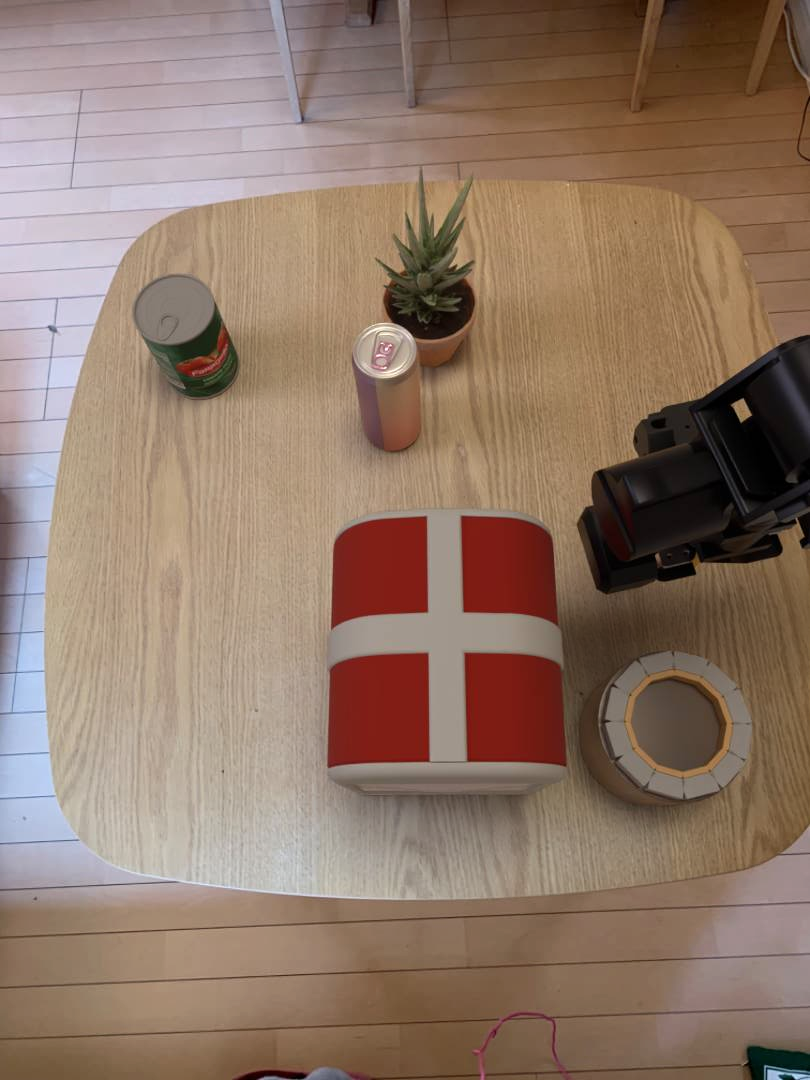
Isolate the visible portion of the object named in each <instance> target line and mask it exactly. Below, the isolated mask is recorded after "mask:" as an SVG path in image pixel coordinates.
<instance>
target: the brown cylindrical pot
mask: <svg viewBox="0 0 810 1080" xmlns="http://www.w3.org/2000/svg"><path fill="white" fill-rule="evenodd" d="M665 651H666V650H659V651H658V650H657V651H652V652H647V653H645V654H641V655H638V656H636V657H634V658H632V659H630V660H629V661H627V662H626V663H624V664H623V665H622V666H621V667H619V669H617V670H616V671H615V672H614V673H613V674H612V675H610V676H609V677H608V678H607V679H605V680H604V681H603V682H602V683H601V684H600V685H599V686H598V687H597V688H596V689H595V690H594V691H593V692H592V693H591V694H590V696H589V697H588V699H587V701H586V702H585V704H584V707H583V708H582V711H581V715H580V719H579V724H578V742H579V746H580V747H579V748H580V752H581V755H582V757H583V760H584V763H585V765H586V766H587V769H588V770H589V772H590V773H591V775H592V776H593V777H594V779H595V780H596V781H597V782H598V784H600V785H601V787H603V788H604V789H605V790H606V791H607V792H609V793H610V794H611V795H613V796H614V797H616V798H618V799H619V800H622V801H625V802H627V803H630V804H633V805H636V806H637V805H638V806H642V807H661V806H662V807H663V806H671V805H681V804H690V803H697V802H701V801H703V800H706V799H709V798H712V797H713V796H716V795H717V794H719V793H721V791H723V790H725V789H726V788H727V787H728V786H729V785H730V784H731V783H732V782H733V781H734V780H735V778H736V777H737V776H738V775H739V773H740V771H739V772H738V773H737V774H736V775H735V776H734V777H733V779H732V780H731V781H730V782H729V783H728V784H727V785H726V786H725V787H724V788H722V789H720V791H717V792H713V793H709V794H705V795H701V796H698V797H694V798H690V799H685V800H681V799H678V800H676V799H673V798H670V797H666V796H663V795H659V794H656V793H653V792H649V791H646V790H644V787H639V786H638V785H637V784H636V783H635V782H634V781H633V780H632V779H631V778H630V777H629V776H627V775H626V774H625V773H624V772H623V771H622V770H621V769H620V768H619V767H618V766H617V765H616V764H615V760H616V759H617V758H618V757H617V758H613V759H612V758H611V755H610V751H609V748H608V745H607V742H606V739H605V735H604V732H603V729H602V725H603V724H604V723H605V722H602V721H601V720H602V715H603V710H604V706H605V701H606V697H607V692H608V689H609V688H611V687H610V685H611V684H612V683H613V682H614V681H615V680H616V679H617V678H618V677H619V676H620V675H621V674H622V673H623V672H624V671H625V670H626V669H627V668H628V667H629V666H630V665H631V664H632V663H633V662H634V661H635V660H636V661H637V660H638V659H639V658H641V657H645V656H649V655H653V654H657V653H661V652H665ZM670 651H671V652H673V651H674V650H670ZM708 663H709V662H707V664H708ZM734 690H737V689H736V688H735V689H734ZM631 725H632V728H633V731H634V734H635V737H636V740H637V743H638V746H639V747H640V748H641V749H642V750H643V751H644V752H645V753H646V754H647V755H648V756H649V757H650V758H651V759H652V760H653V761H654V762H655V763H656V764H657V765H661V766H664V767H668V768H671V769H674V770H678V771H681V772H683V771H687V770H691V769H695V768H698V767H701V766H702V765H703V764H704V763H705V762H706V761H707V760H708V759H709V757H710V756H711V755H712V754H713V753H714V752H715V751H716V750H717V745H718V740H719V734H720V728H721V724H720V722H719V719H718V716H717V713H716V711H715V708H714V705H713V702H712V701H711V700H710V699H709V698H708V697H707V696H705V695H704V694H703V693H702V692H701V691H700V690H699V689H698V688H697V687H696V686H695V685H693V684H689V683H686V682H682V681H679V680H675V679H671V678H669V679H665V680H661V681H657V682H653V683H649V684H648V685H647V686H646V687H645V688H644V689H643V691H642V692H641V693H640V694H639V695H638V696H637V697H636V698H635V702H634V707H633V712H632V717H631ZM748 725H750V723H749V724H748ZM745 761H746V760H744V762H745Z"/></svg>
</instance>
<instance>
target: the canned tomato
mask: <svg viewBox="0 0 810 1080" xmlns="http://www.w3.org/2000/svg"><path fill="white" fill-rule="evenodd" d="M131 317H132V322H133V325H134V328H135V329H136V331H138V333H139V335H140V336H141V338H142V339H143V342H144V343H145V345H146V346H147V348H148V349H149V351H150V353H151V355H152V357H153V358H154V360H155V361H156V363H157V365H158V366H159V368H160V369H161V371H162V373H163V375H164V376H165V378H166V380H167V381H168V384H169V385H170V387H171V388H172V389H173V390H174V391H175V392H176V393H177V394H178V395H180V396H182V397H184V398H187V399H190V400H207V399H211V398H214V397H217V396H220V395H221V394H222V393H224V392H226V391H227V390H228V389H229V388H230V387H231V386H232V385H233V383H234V382H235V381H236V379H237V376H238V374H239V370H240V357H239V354H238V352H237V350H236V348H235V346H234V343H233V341H232V338H231V336H230V334H229V333H230V332H229V331H228V328H227V326H226V324H225V322H224V319H223V316H222V314H221V311H220V309H219V308H218V305H217V302H216V300H215V297H214V295H213V292H212V290H211V288H210V287H209V286H208V285H207V284H206V282H204V281H203V280H201V279H200V278H198V277H196V276H194V275H191V274H188V273H181V272H175V273H174V272H173V273H168V274H164V275H160V276H158V277H156V278H154V279H152V280H150V281H149V282H148V283H146V284H145V285H144V286H143V287H142V288H141V289H140V290H139V291H138V293H137V295H136V296H135V298H134V300H133V303H132V307H131Z"/></svg>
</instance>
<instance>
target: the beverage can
mask: <svg viewBox="0 0 810 1080" xmlns="http://www.w3.org/2000/svg"><path fill="white" fill-rule="evenodd" d="M351 366H352V371H353V377H354V382H355V387H356V393H357V400H358V405H359V411H360V416H361V422H362V429H363V432H364V435H365V437H366V438H367V441H369V442H370V443H371V444H372V445H373V446H375V447H376V448H378V449H380V450H384V451H399V450H403V449H405V448H407V447H409V446H410V445H412V444H413V443H414V442H415V441H416V440H417V438H418V437H419V435H420V432H421V429H422V405H421V404H422V403H421V401H422V399H421V397H422V395H421V368H420V367H421V365H420V361H419V350H418V347H417V345H416V342H415V339H414V338H413V336H412V335H411V333H410V332H409V331H408V330H406V329H405V328H404V327H402V326H400V325H397V324H394V323H385V322H378V323H373V324H371V325H369V326H368V327H366V328H364V329H363V330H362V331H361V332H360V333H359V334H358V335H357V336H356V338H355V339H354V343H353V345H352V352H351Z"/></svg>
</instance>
